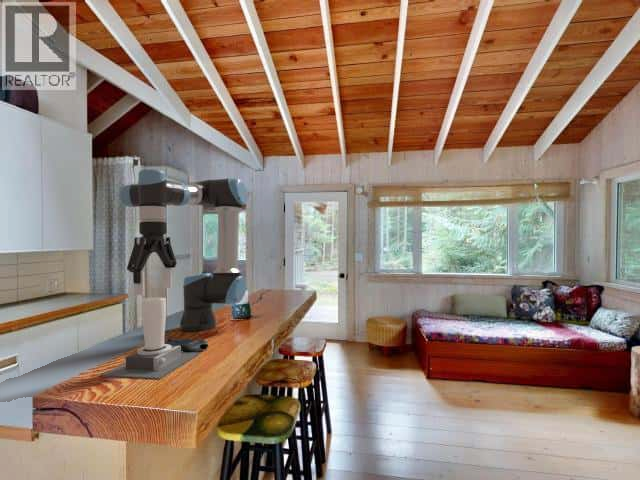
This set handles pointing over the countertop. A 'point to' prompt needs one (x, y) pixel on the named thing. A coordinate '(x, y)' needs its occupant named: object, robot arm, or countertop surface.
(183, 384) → the countertop surface
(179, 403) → the countertop surface
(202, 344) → the electronic device
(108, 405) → the countertop surface
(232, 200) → the robot arm
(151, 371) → the flat gray baseplate
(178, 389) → the countertop surface
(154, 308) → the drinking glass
